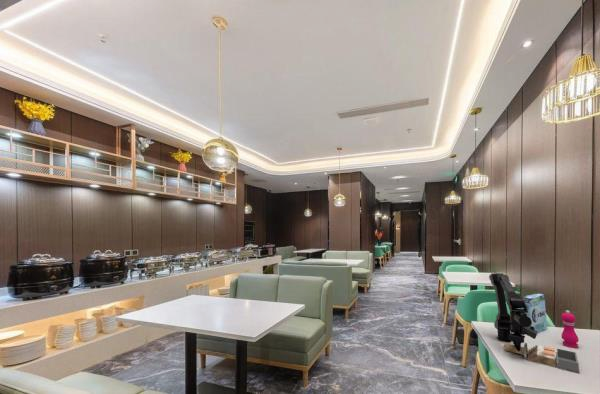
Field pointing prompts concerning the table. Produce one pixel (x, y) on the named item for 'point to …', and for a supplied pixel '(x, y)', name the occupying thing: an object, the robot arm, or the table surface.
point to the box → (567, 360)
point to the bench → (541, 356)
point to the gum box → (536, 311)
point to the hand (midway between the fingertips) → (518, 350)
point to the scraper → (513, 349)
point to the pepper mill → (569, 330)
